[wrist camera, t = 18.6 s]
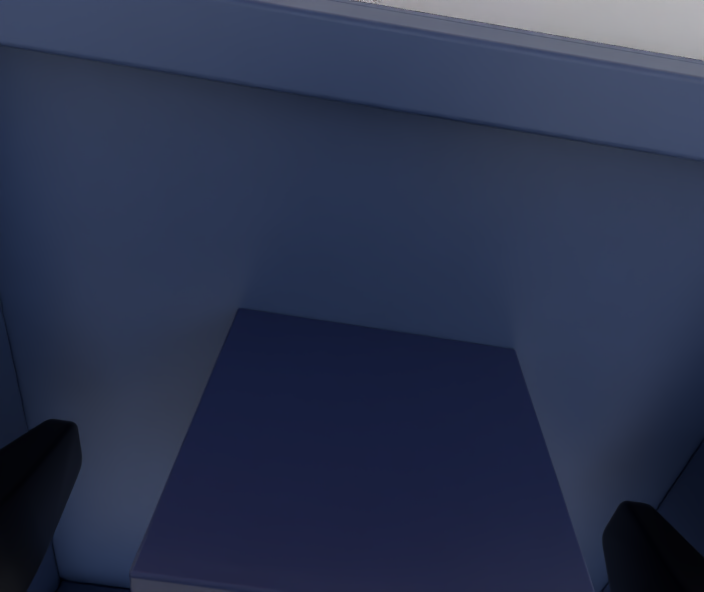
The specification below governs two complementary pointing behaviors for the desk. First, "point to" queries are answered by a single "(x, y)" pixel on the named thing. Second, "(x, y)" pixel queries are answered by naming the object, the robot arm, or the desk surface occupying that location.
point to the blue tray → (344, 232)
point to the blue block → (360, 471)
